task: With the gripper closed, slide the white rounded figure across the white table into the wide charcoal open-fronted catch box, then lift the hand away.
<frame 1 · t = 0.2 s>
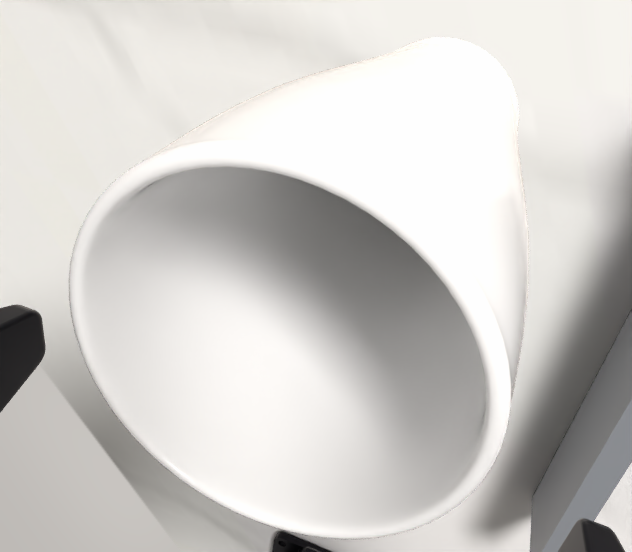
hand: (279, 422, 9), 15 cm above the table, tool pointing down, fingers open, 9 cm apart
drinking glass: (440, 114, 21), on the table
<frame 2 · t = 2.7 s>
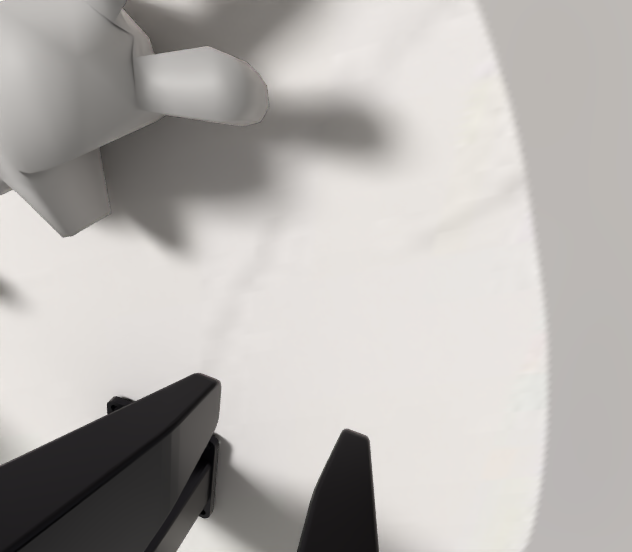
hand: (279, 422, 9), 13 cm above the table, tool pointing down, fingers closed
white rounded figure: (109, 74, 23), on the table
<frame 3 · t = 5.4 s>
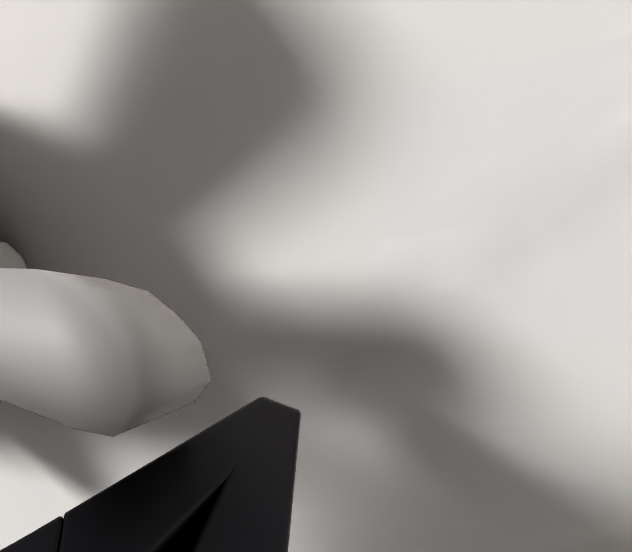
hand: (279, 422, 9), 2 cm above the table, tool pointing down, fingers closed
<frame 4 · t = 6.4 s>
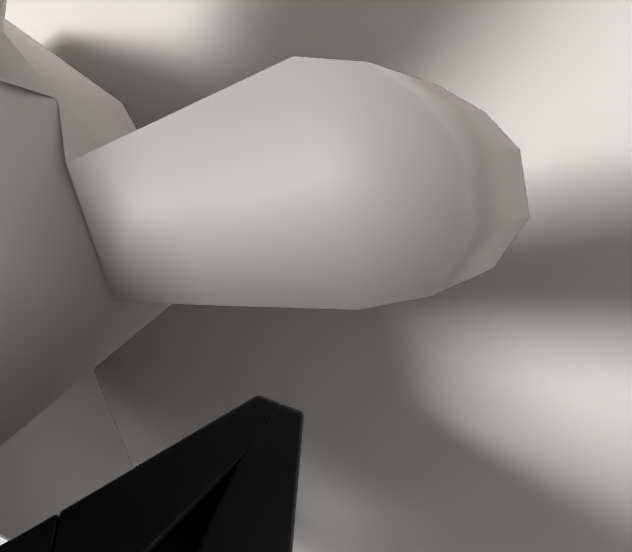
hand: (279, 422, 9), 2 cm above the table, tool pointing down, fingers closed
white rounded figure: (73, 202, 11), on the table, touching gripper
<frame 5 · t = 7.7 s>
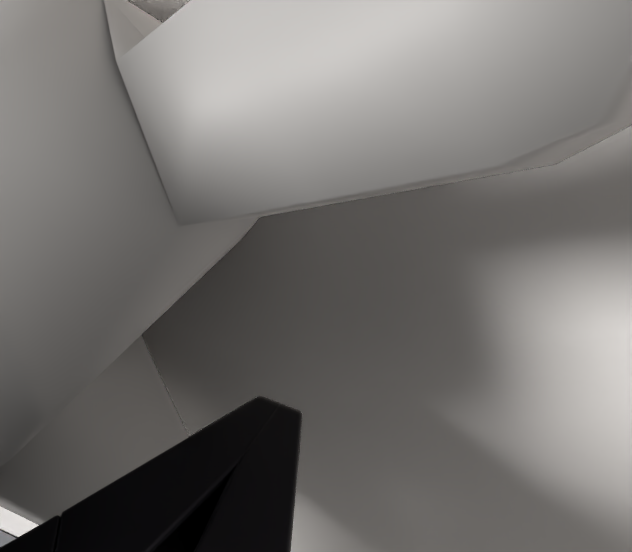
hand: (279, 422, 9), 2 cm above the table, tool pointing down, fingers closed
white rounded figure: (116, 172, 10), on the table, touching gripper
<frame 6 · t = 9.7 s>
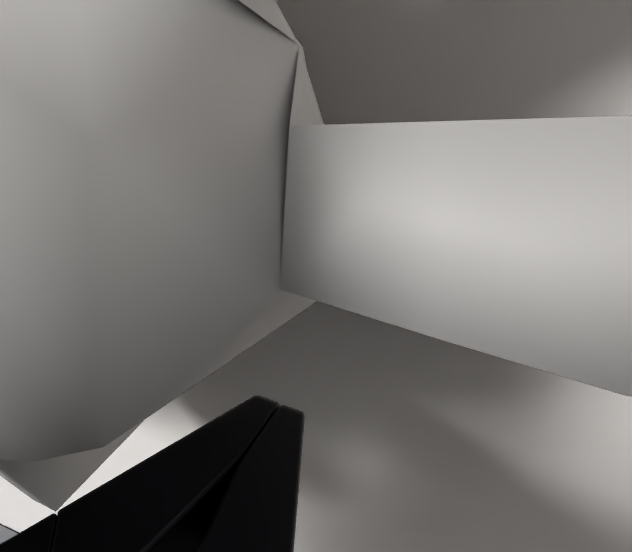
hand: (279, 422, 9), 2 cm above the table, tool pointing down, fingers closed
white rounded figure: (153, 122, 9), on the table, touching gripper
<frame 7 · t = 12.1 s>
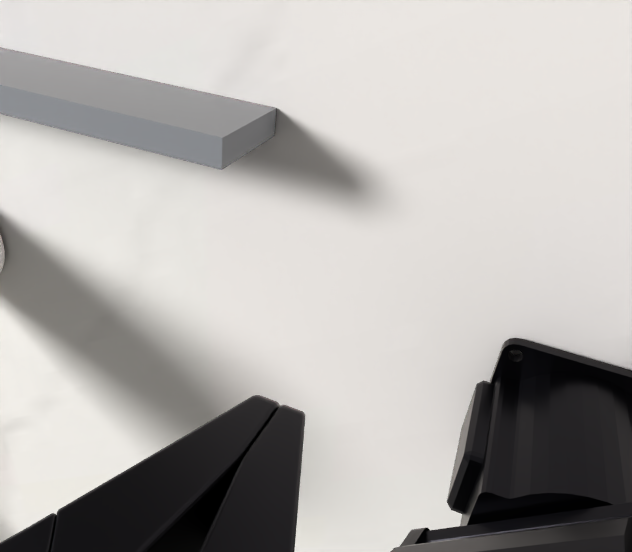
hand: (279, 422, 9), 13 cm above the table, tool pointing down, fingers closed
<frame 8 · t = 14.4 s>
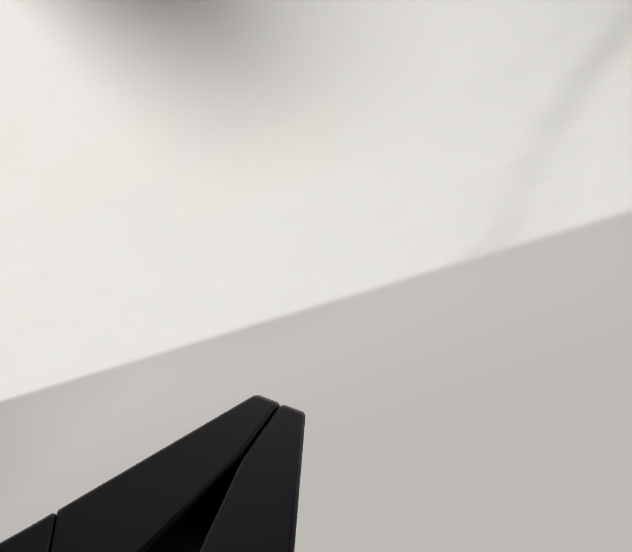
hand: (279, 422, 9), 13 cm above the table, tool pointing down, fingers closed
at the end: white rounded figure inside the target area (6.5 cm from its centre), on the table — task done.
